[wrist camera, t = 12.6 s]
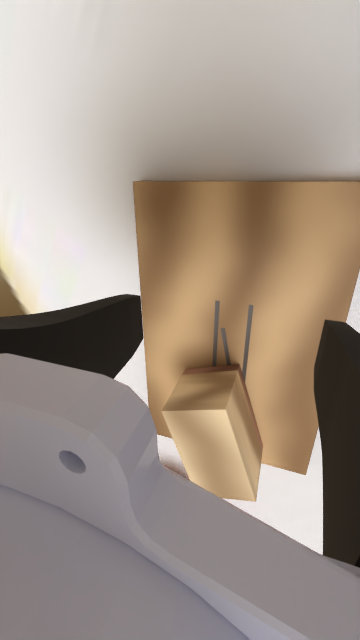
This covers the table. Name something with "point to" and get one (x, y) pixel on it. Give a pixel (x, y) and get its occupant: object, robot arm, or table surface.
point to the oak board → (246, 292)
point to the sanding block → (216, 431)
